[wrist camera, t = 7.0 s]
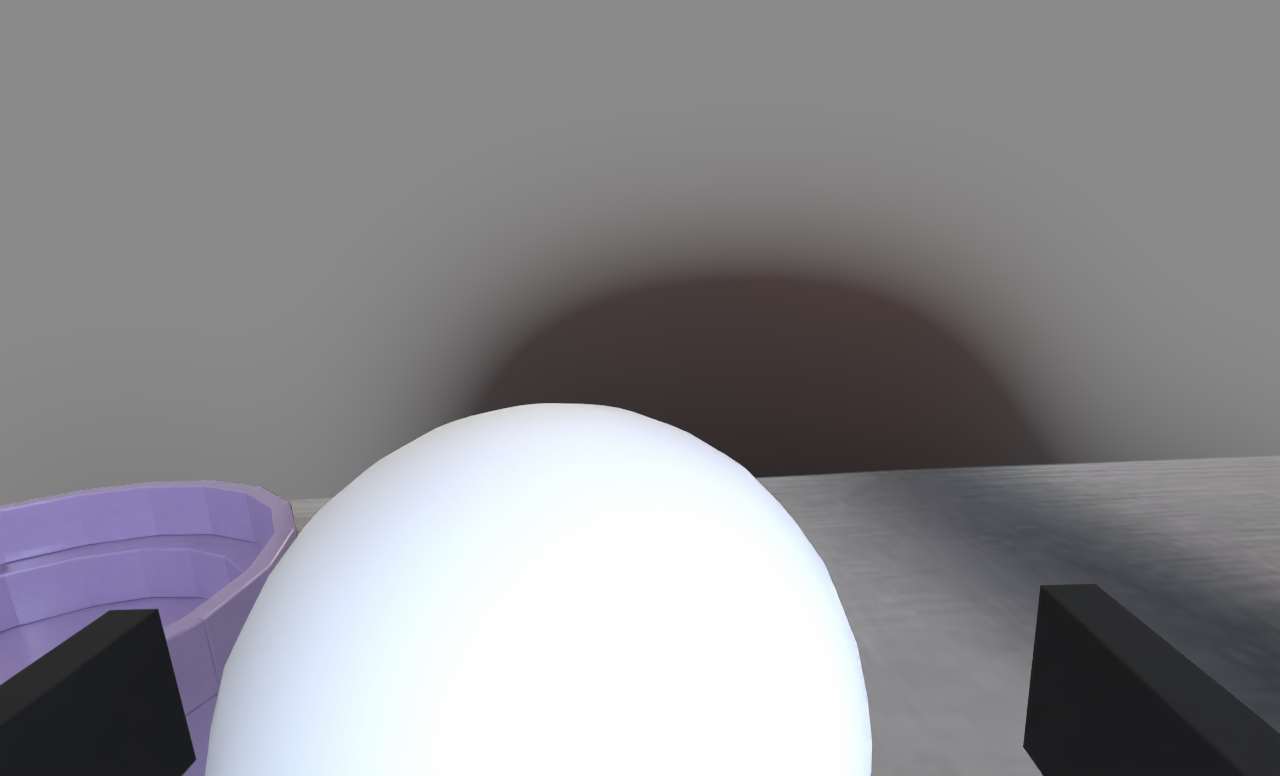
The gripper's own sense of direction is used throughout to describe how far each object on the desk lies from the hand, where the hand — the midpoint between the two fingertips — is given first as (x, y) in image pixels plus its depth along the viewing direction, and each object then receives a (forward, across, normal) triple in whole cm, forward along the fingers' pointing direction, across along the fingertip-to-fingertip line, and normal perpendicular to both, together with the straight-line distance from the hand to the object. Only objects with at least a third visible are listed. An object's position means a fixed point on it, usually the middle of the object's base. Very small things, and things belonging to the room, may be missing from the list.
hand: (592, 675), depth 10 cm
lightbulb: (-3, 0, -6) cm, 7 cm away
